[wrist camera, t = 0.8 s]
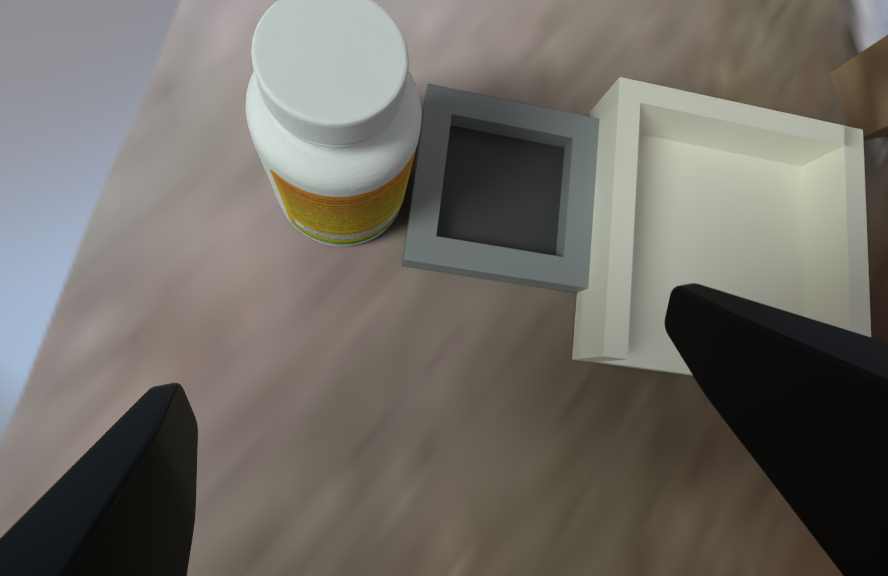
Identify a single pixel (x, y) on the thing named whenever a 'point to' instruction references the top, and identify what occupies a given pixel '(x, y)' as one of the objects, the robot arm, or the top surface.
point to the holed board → (502, 191)
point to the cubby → (717, 218)
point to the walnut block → (865, 90)
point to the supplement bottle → (334, 116)
